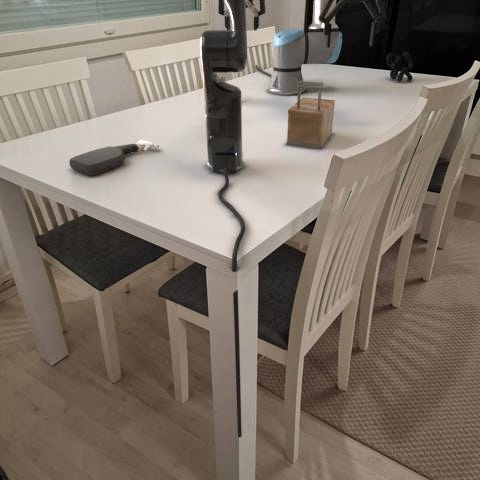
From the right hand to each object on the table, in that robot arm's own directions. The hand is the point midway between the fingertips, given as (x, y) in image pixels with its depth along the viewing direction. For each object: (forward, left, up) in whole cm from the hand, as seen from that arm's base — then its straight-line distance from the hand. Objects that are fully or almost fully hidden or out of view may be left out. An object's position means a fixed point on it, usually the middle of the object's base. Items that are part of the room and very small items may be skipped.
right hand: (349, 46), depth 137 cm
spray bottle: (+28, -69, -24) cm, 79 cm away
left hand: (-6, -33, +5) cm, 34 cm away
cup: (-35, -42, -24) cm, 60 cm away
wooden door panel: (+15, -13, -14) cm, 25 cm away
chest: (+15, -13, -24) cm, 31 cm away
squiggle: (-59, +40, -24) cm, 75 cm away
